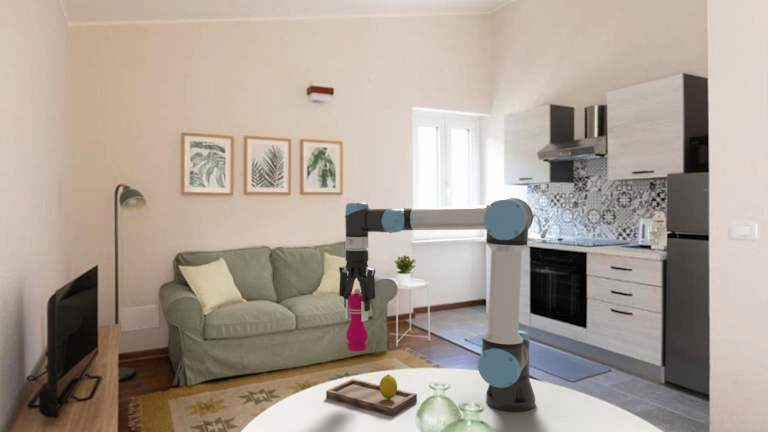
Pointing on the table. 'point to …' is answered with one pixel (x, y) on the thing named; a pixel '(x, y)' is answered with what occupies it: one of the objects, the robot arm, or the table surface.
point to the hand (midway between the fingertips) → (357, 319)
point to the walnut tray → (370, 397)
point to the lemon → (388, 386)
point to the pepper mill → (356, 324)
